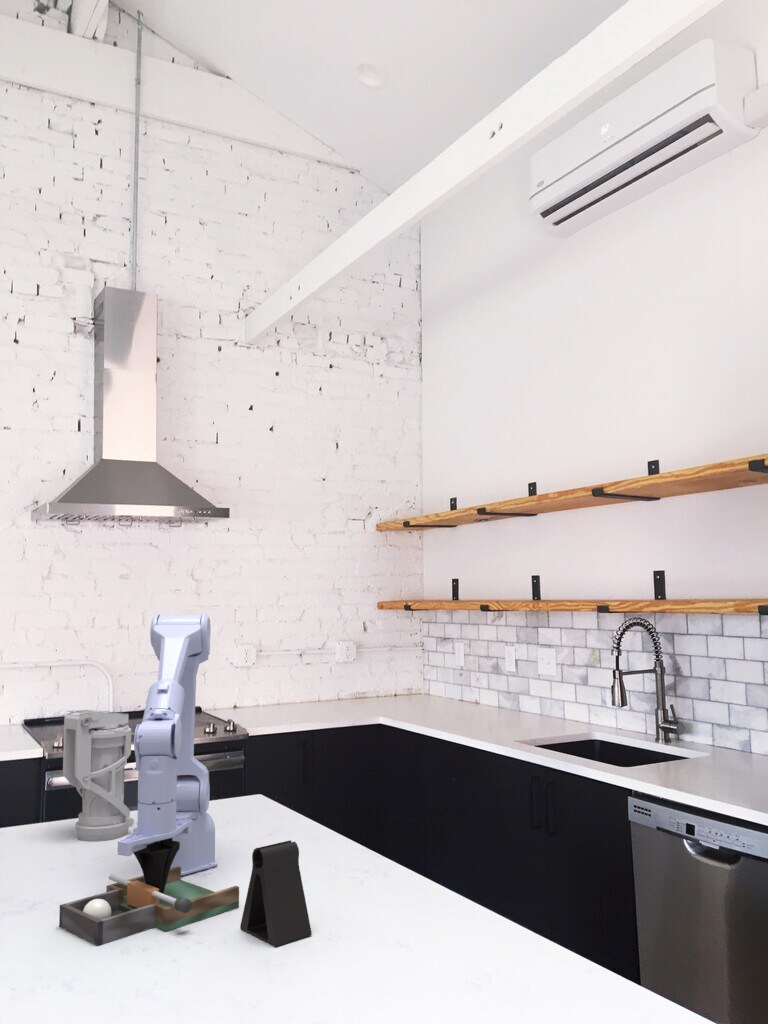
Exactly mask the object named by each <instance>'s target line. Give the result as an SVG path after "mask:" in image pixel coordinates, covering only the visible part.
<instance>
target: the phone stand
mask: <svg viewBox="0 0 768 1024" xmlns="http://www.w3.org/2000/svg"><path fill="white" fill-rule="evenodd" d="M251 855H252V856H251V858H252V859H251V860H252V868H251V869H252V870H251V875H250V878H249V884H248V889H247V893H246V898H245V902H244V907H243V913H242V918H241V922H240V930H241V931H243V932H244V933H246V934H249V935H250V936H252V937H254V938H256V939H258V940H260V941H261V942H264V943H266V944H268V945H270V946H271V947H274V948H277V947H280V946H283V945H284V946H285V945H287V944H290V943H293V942H296V941H298V940H299V941H300V940H301V939H305V938H308V937H312V935H313V934H312V928H311V923H310V917H309V912H308V906H307V901H306V895H305V891H304V890H305V889H304V885H303V881H302V876H301V870H300V864H299V863H300V861H299V860H300V859H299V858H300V849H299V846H298V843H297V842H296V841H292V840H286V841H281V842H278V843H272V844H269V845H265V846H260V847H256V848H254V849H253V851H252V854H251Z"/></svg>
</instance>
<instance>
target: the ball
mask: <svg viewBox="0 0 768 1024" xmlns="http://www.w3.org/2000/svg"><path fill="white" fill-rule="evenodd" d="M83 912H84V913H87V914H89V915H91V916H93V917H95V918H98V919H100V920H101V919H104V918H108V917H111V907H110V905H109V903H108V902H107V901H105V900H103V899H94V900H92V901H90V902H89V903H87V905H86V906H85V907H84V909H83Z"/></svg>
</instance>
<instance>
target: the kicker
mask: <svg viewBox="0 0 768 1024" xmlns="http://www.w3.org/2000/svg"><path fill="white" fill-rule="evenodd" d="M108 880H110V881H113V882H114V883H120V884H123V885H125V886H127V904H129V905H132V906H134V907H136V908H141V907H144V906H147V905H151V904H154V903H159V899H161V900H163V901H166V902H168V903H171V904H174V907H175V909H176V910H178V911H180V912H183V913H187V912H189V910H190V909H191V906H192V902H191V901H190V900H189V899H186V898H184V897H179V898H177V899H175V898H173V897H170V896H168V895H165V894H162V893H160V892H159V889H158V888H156V887H153V886H150V885H148V884H145V883H143V882H140V881H137V880H136V881H132V882H131V881H129V879H126V878H123V877H121V876H118V875H116V874H112V873H111V874H109V875H108Z"/></svg>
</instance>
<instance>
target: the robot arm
mask: <svg viewBox="0 0 768 1024" xmlns="http://www.w3.org/2000/svg"><path fill="white" fill-rule="evenodd" d="M149 630H150V632H149V635H150V636H149V637H150V644H151V645H150V646H151V647H152V649H153V652H154V654H155V656H156V657H157V658H156V659H157V661H159V662H158V676H157V681H155V682H154V683H152V684H151V685H150V686H149V688H148V693H147V698H146V703H145V708H144V712H143V716H142V720H141V721H142V722H141V723H137V725H136V727H135V731H134V734H133V735H134V738H133V747H134V748H133V749H134V755H135V771H136V772H138V775H137V777H138V778H137V779H138V780H137V821H136V822H137V825H136V826H137V827H134V828H132V833H131V834H129V835H128V836H125V838H123V839H121V840H118V841H117V855H118V856H123V857H129V856H132V855H134V856H135V858H136V859H137V860H136V861H138V863H139V866H140V868H141V871H142V874H143V875H142V876H144V878H145V882H146V884H148V885H150V886H153V887H156V888H158V889H159V892H160V893H164V889H165V885H166V881H167V877H168V874H169V870H170V868H173V867H177V866H179V867H181V877H182V876H183V877H184V876H187V875H189V874H193V873H197V872H201V871H203V870H207V869H210V868H214V867H218V862H216V826H215V822H214V819H213V817H212V816H211V814H210V813H208V810H209V805H210V799H211V798H210V797H211V796H210V794H211V793H210V791H211V790H210V789H211V787H210V772H209V770H208V768H207V766H206V765H204V764H203V763H202V762H201V761H199V760H198V759H197V758H195V757H194V756H195V754H194V753H195V725H196V724H195V722H196V721H195V720H196V699H197V698H196V697H197V696H196V695H197V694H196V691H197V674H198V670H199V668H200V667H199V666H200V664H203V663H204V662H206V661H208V660H209V655H210V653H211V651H210V650H211V619H210V616H208V614H207V613H203V614H159V613H158V614H154V616H153V617H152V619H151V623H150V629H149ZM178 776H194V777H178Z"/></svg>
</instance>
